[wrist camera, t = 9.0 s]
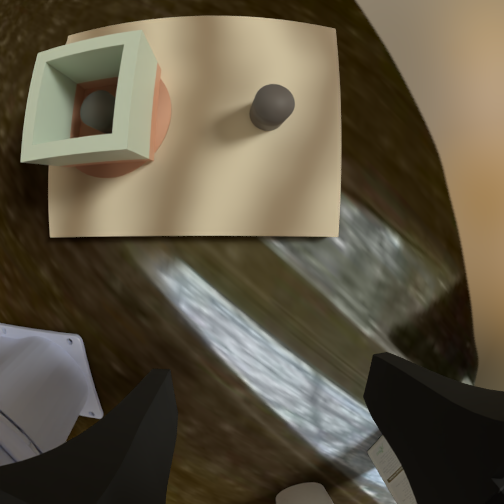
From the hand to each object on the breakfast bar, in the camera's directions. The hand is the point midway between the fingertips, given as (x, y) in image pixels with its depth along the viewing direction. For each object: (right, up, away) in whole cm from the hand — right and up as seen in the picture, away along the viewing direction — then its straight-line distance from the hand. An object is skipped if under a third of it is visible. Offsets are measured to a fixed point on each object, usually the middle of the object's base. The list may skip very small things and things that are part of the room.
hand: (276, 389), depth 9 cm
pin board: (-5, +13, +7) cm, 15 cm away
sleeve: (-9, +12, +5) cm, 16 cm away
